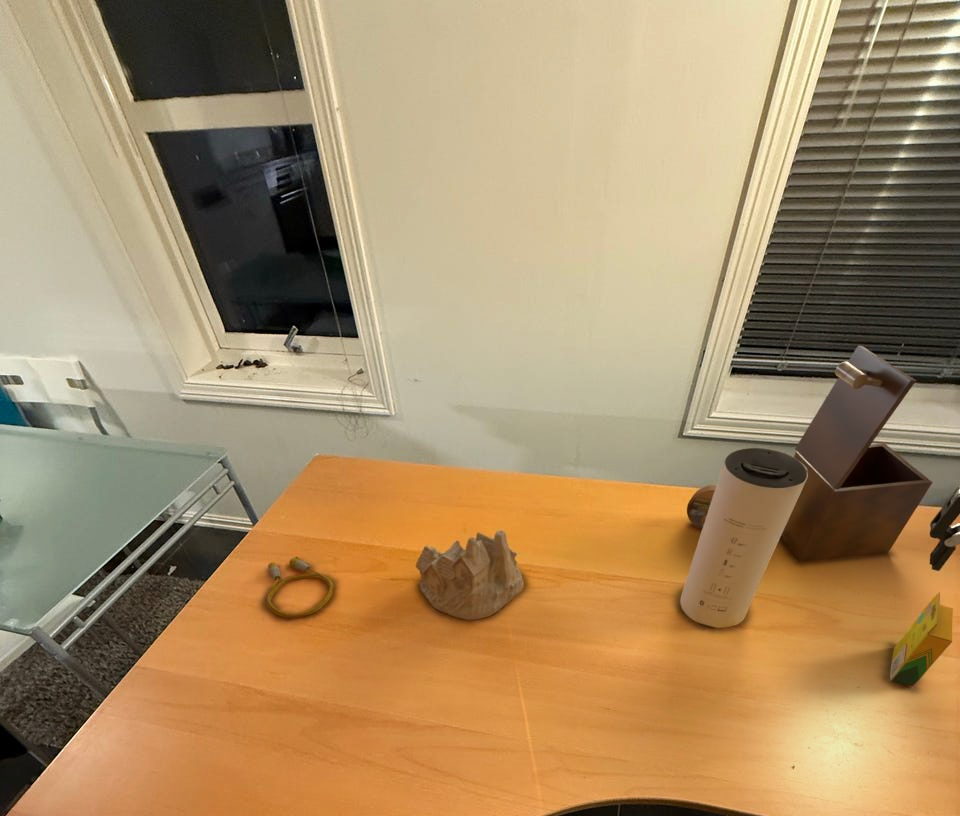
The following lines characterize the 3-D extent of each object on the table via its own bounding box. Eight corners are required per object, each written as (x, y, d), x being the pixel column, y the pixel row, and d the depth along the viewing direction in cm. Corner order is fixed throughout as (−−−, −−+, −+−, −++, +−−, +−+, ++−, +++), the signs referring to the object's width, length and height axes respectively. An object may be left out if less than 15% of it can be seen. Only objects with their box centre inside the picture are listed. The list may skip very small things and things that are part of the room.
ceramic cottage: (536, 586, 95) (531, 513, 84) (463, 635, 89) (448, 562, 78) (480, 550, 104) (469, 480, 93) (411, 592, 98) (391, 522, 87)
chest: (847, 513, 105) (884, 443, 94) (887, 554, 96) (933, 482, 86) (767, 521, 104) (795, 451, 94) (800, 563, 96) (835, 491, 85)
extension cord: (335, 558, 104) (333, 549, 102) (332, 615, 93) (329, 606, 92) (271, 566, 103) (267, 558, 101) (260, 624, 92) (256, 616, 91)
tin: (682, 525, 105) (692, 486, 99) (686, 516, 107) (696, 478, 101) (764, 544, 100) (781, 505, 94) (767, 535, 102) (783, 495, 95)
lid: (862, 346, 82) (831, 341, 81) (916, 380, 73) (882, 375, 72) (798, 449, 94) (770, 446, 93) (838, 489, 85) (808, 486, 84)
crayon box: (912, 689, 77) (961, 632, 68) (888, 681, 78) (934, 624, 69) (916, 654, 81) (963, 597, 72) (893, 647, 82) (937, 590, 73)
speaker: (756, 603, 90) (821, 457, 70) (731, 640, 84) (794, 494, 65) (695, 578, 95) (740, 436, 75) (668, 612, 89) (709, 468, 70)
